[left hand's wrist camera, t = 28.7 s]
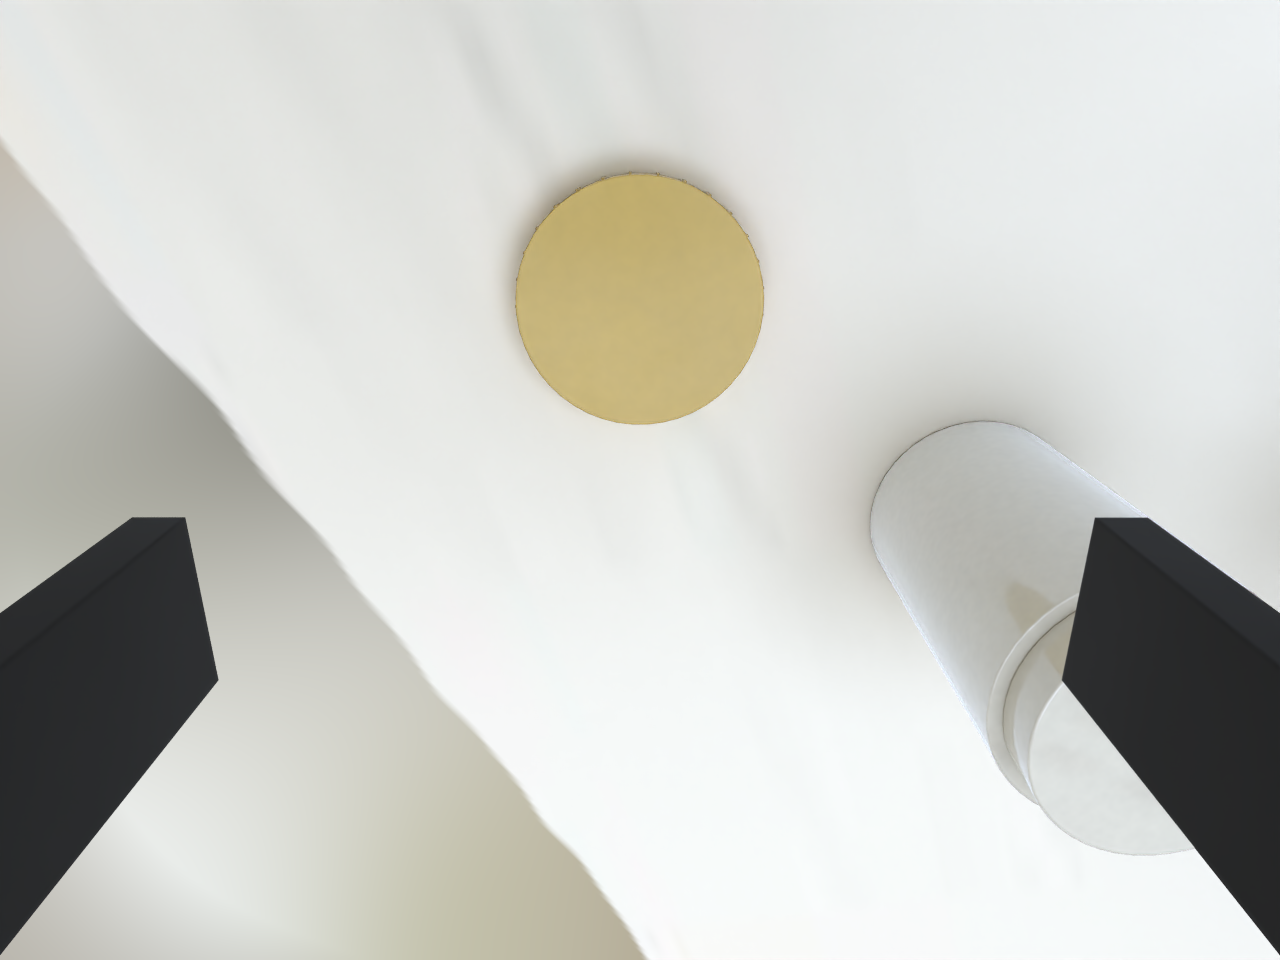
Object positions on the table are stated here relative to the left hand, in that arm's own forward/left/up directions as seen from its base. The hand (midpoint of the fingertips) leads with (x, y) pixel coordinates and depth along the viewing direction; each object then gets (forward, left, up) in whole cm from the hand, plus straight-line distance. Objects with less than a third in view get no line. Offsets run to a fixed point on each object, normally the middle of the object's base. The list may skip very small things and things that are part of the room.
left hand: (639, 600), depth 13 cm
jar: (+20, 0, -28) cm, 34 cm away
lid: (0, 0, -26) cm, 26 cm away
